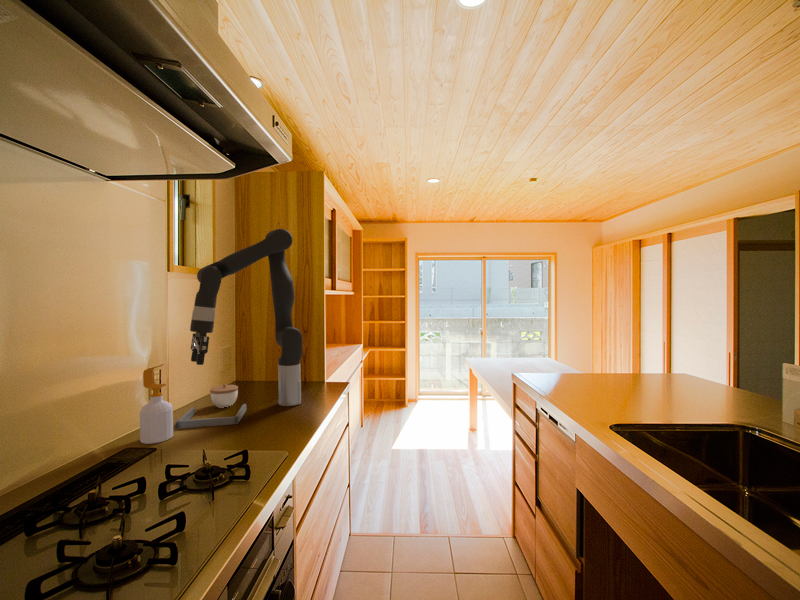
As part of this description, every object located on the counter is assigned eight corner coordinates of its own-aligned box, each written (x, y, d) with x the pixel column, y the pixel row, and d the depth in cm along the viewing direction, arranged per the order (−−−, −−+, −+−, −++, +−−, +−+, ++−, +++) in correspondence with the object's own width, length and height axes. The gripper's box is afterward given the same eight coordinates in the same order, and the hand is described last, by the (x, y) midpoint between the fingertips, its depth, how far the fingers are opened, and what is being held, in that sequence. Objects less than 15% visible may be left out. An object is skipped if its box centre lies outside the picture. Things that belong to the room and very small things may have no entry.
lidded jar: (224, 411, 148) (223, 388, 148) (204, 408, 151) (204, 386, 151) (243, 403, 158) (243, 382, 158) (224, 401, 161) (224, 380, 161)
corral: (246, 409, 149) (246, 403, 149) (237, 423, 133) (237, 417, 133) (191, 413, 145) (191, 407, 144) (176, 428, 128) (176, 421, 128)
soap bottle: (161, 444, 115) (160, 367, 115) (133, 444, 115) (131, 367, 115) (179, 433, 124) (178, 362, 124) (152, 433, 124) (151, 362, 124)
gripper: (219, 321, 132) (213, 366, 131) (209, 319, 142) (203, 360, 141) (196, 319, 127) (189, 365, 126) (187, 317, 137) (181, 360, 136)
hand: (196, 363), depth 133 cm, fingers open, 8 cm apart
